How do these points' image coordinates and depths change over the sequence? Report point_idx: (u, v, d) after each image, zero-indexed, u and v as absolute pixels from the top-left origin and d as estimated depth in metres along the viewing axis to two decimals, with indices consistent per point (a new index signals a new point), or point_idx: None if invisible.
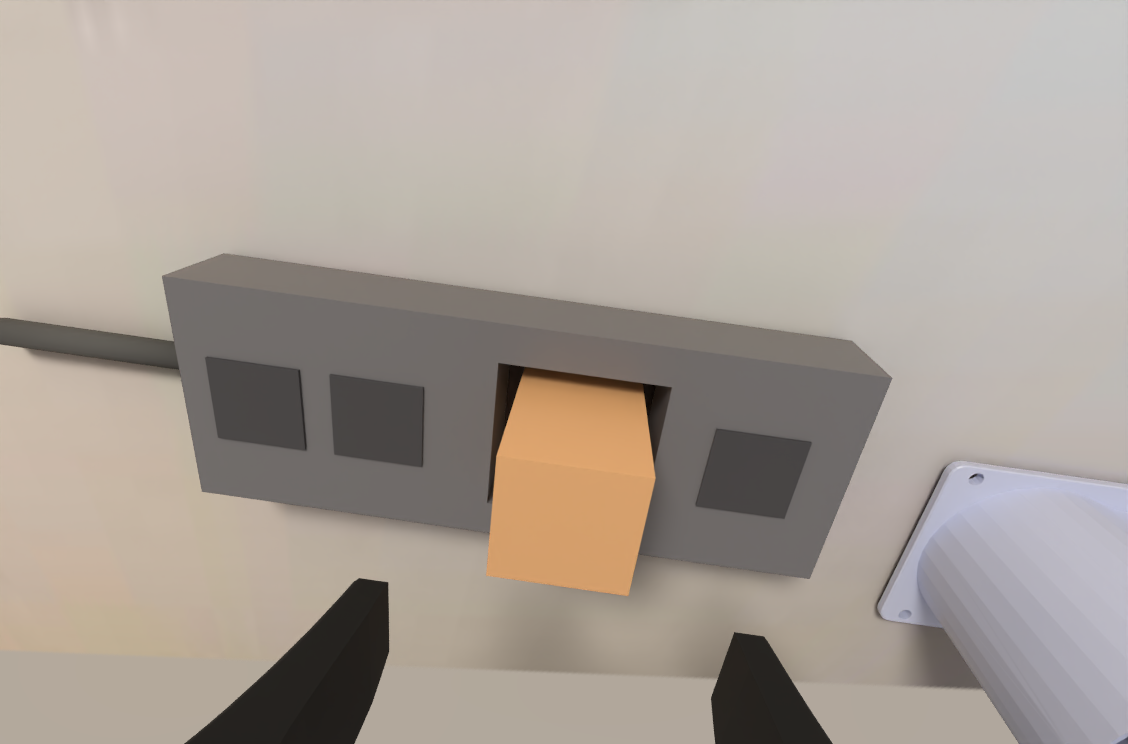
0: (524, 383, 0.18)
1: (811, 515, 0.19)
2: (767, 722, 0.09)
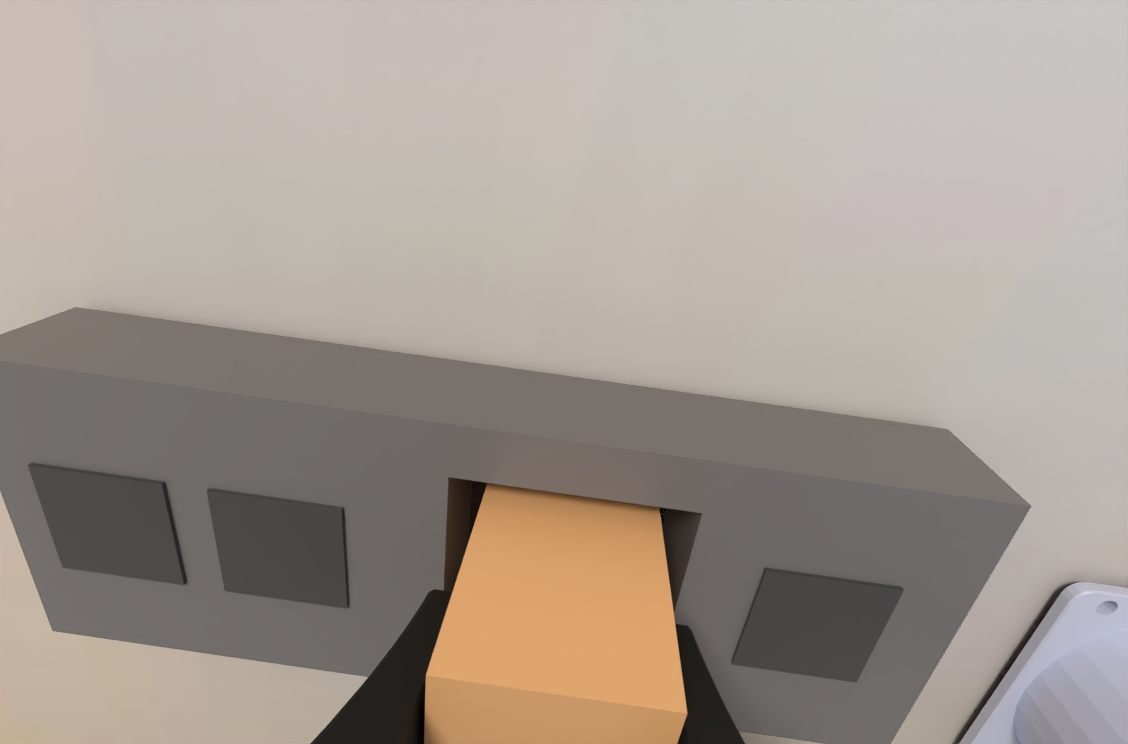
0: (487, 502, 0.12)
1: (894, 677, 0.13)
2: None
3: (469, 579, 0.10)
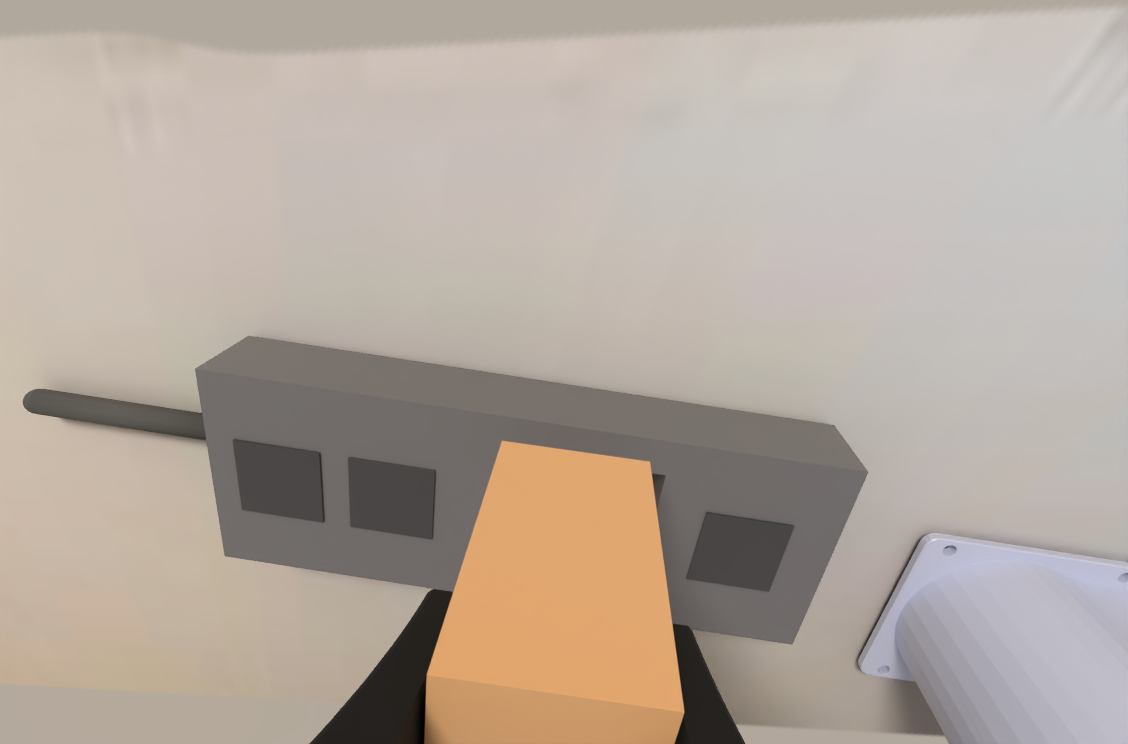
0: (487, 506, 0.12)
1: (794, 588, 0.20)
2: None
3: (469, 581, 0.10)
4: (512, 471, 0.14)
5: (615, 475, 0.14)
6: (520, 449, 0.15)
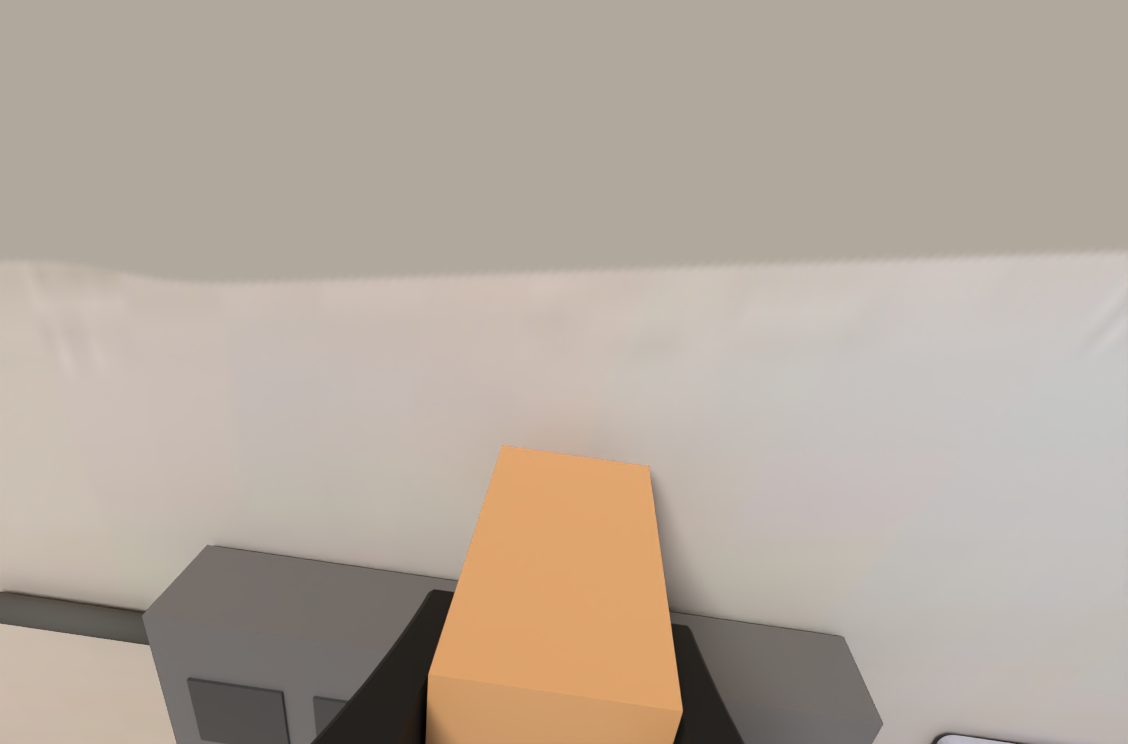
0: (488, 509, 0.13)
1: None
2: None
3: (470, 583, 0.11)
4: (512, 475, 0.14)
5: (614, 479, 0.14)
6: (520, 454, 0.15)
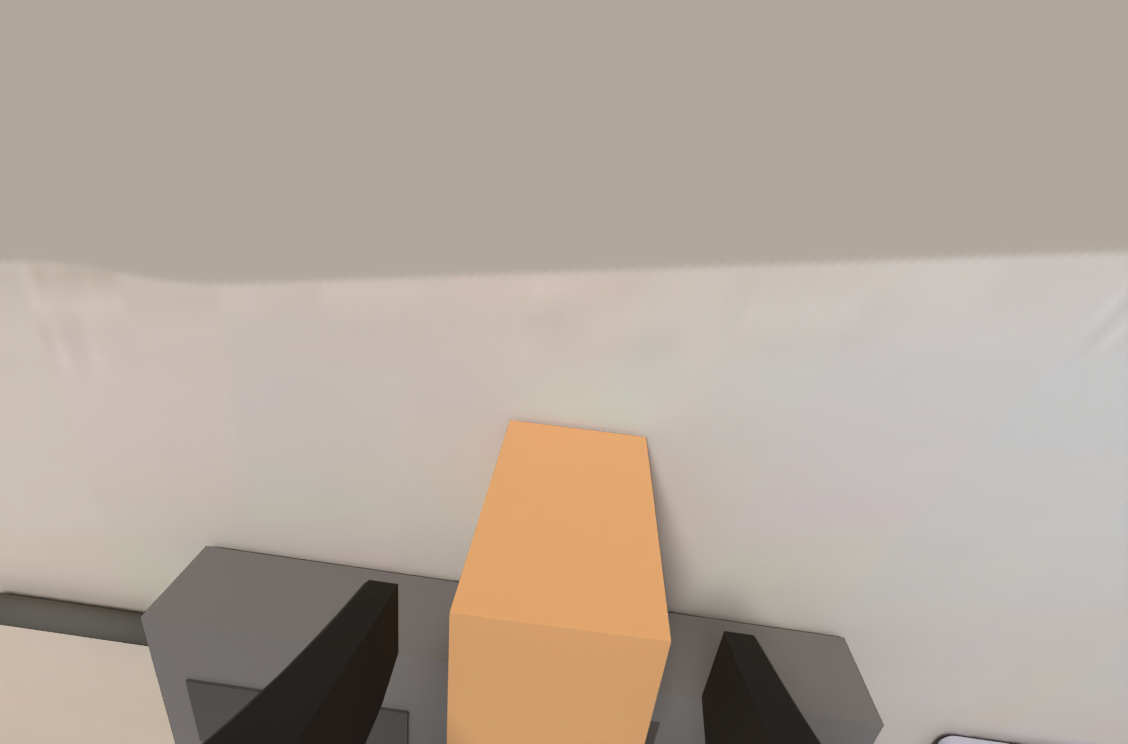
0: (498, 477, 0.14)
1: None
2: (755, 720, 0.09)
3: (483, 538, 0.12)
4: (520, 446, 0.15)
5: (613, 449, 0.16)
6: (526, 427, 0.16)
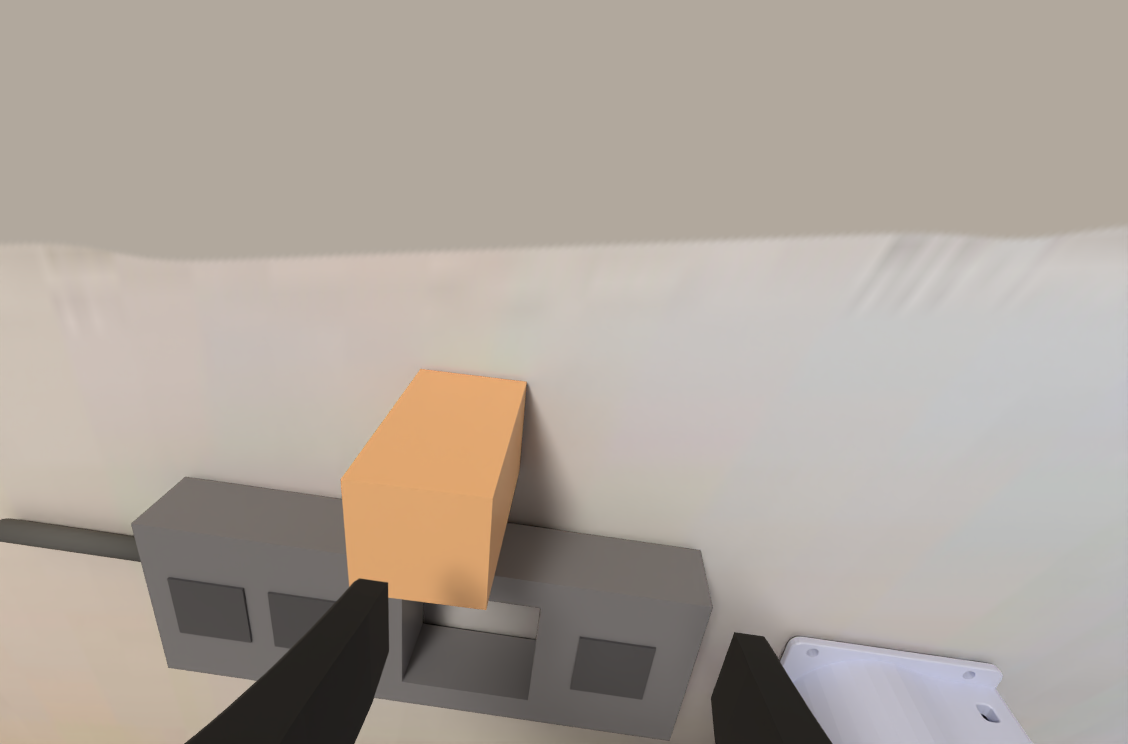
0: (399, 404, 0.18)
1: (664, 696, 0.23)
2: (767, 722, 0.09)
3: (377, 440, 0.16)
4: (422, 386, 0.20)
5: (497, 389, 0.20)
6: (432, 374, 0.21)
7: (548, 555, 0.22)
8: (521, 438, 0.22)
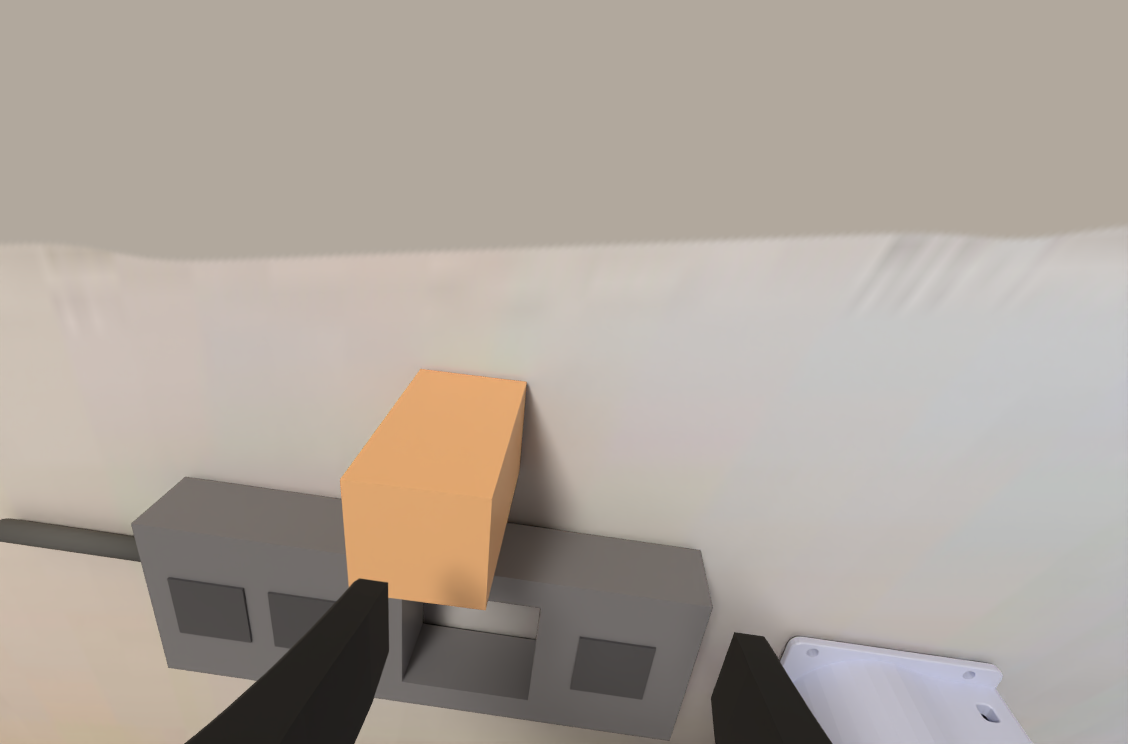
0: (399, 404, 0.18)
1: (664, 696, 0.23)
2: (767, 722, 0.09)
3: (376, 440, 0.16)
4: (422, 386, 0.20)
5: (497, 389, 0.20)
6: (432, 374, 0.21)
7: (548, 555, 0.22)
8: (521, 438, 0.22)
